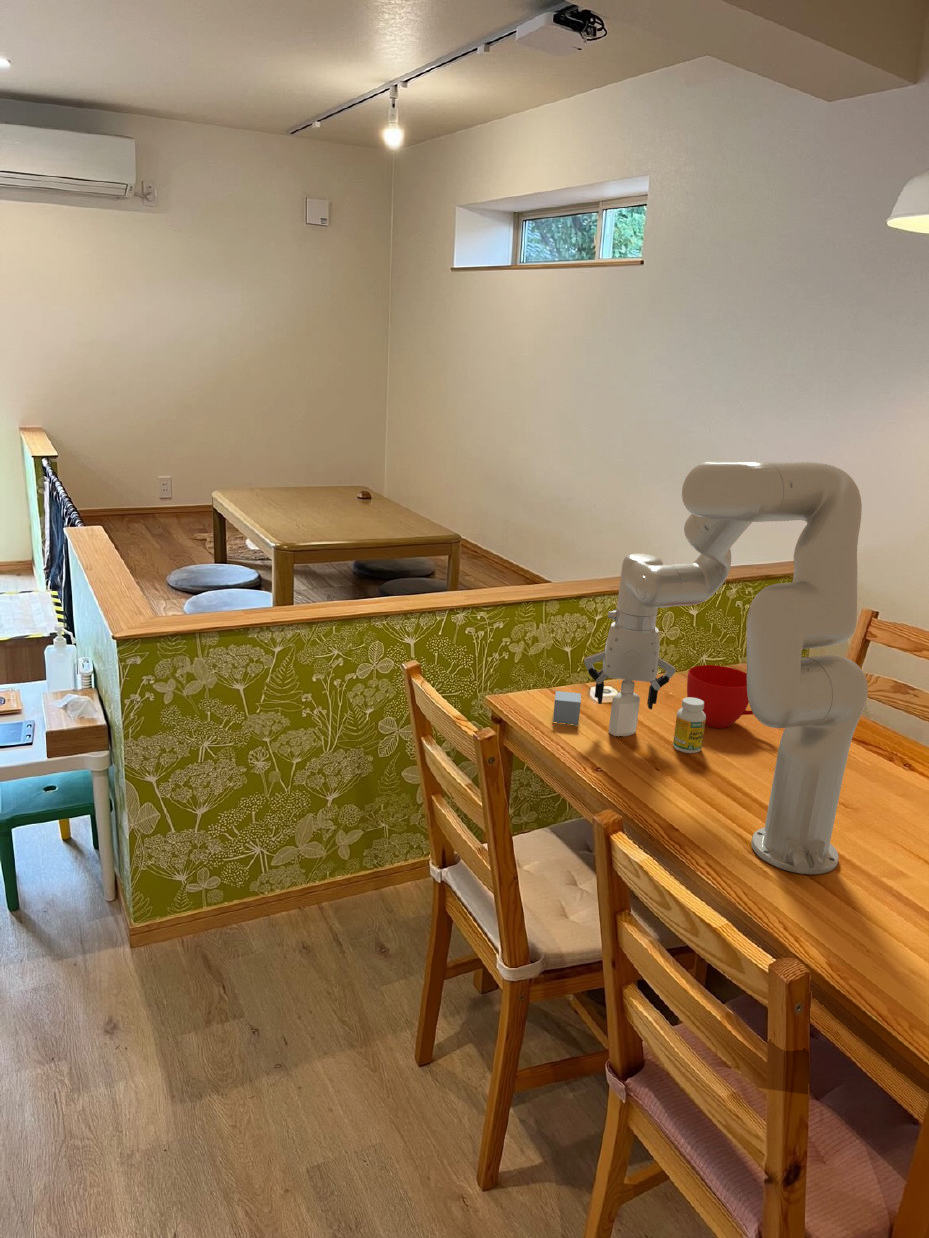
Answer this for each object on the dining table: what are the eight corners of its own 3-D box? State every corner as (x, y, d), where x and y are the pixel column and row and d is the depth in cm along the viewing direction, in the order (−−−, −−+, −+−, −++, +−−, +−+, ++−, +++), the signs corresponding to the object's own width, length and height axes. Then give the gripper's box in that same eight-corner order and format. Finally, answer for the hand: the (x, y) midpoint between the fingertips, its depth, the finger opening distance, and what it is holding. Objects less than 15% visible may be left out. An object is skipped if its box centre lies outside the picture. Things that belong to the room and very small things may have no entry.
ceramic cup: (756, 745, 183) (764, 697, 180) (672, 723, 192) (679, 676, 189) (773, 725, 194) (781, 679, 191) (693, 704, 202) (700, 660, 199)
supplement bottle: (686, 740, 184) (693, 693, 181) (707, 750, 180) (714, 703, 177) (666, 745, 181) (672, 698, 178) (687, 756, 177) (694, 708, 174)
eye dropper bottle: (638, 738, 183) (646, 680, 180) (609, 736, 183) (616, 678, 179) (634, 729, 187) (641, 672, 184) (605, 727, 187) (612, 670, 184)
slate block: (578, 726, 187) (580, 702, 186) (552, 723, 188) (555, 699, 186) (578, 716, 192) (580, 693, 191) (553, 713, 192) (555, 690, 191)
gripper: (589, 621, 176) (579, 706, 181) (684, 630, 174) (671, 716, 179) (589, 609, 183) (579, 692, 188) (680, 618, 181) (667, 701, 186)
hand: (624, 703), depth 184 cm, fingers open, 9 cm apart
